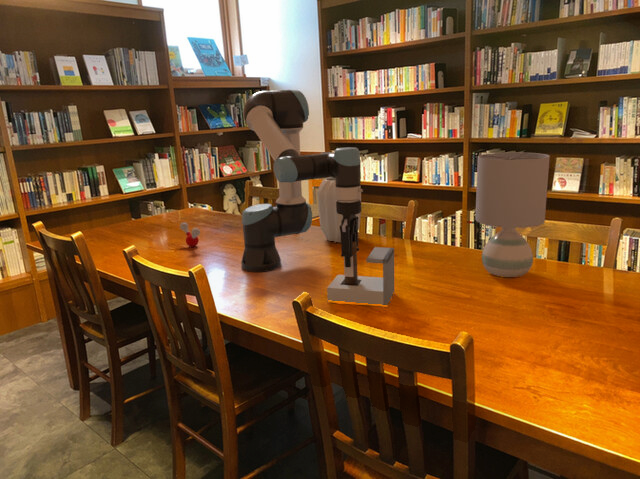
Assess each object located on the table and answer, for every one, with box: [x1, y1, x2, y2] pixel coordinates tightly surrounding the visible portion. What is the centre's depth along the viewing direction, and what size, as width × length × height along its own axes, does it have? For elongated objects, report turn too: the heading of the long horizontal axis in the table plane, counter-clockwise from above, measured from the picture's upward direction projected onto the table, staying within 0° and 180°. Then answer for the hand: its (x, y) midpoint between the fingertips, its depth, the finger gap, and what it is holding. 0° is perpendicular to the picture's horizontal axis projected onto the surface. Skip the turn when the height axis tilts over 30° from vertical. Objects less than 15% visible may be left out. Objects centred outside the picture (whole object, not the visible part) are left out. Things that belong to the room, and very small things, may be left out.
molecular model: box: [179, 222, 201, 248], centre depth 222 cm, size 18×6×10 cm, turn 41°
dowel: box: [345, 241, 359, 286], centre depth 154 cm, size 4×4×15 cm
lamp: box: [474, 152, 551, 278], centre depth 166 cm, size 22×22×40 cm
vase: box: [316, 177, 362, 243], centre depth 221 cm, size 20×20×27 cm
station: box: [326, 246, 395, 305], centre depth 154 cm, size 19×12×15 cm, turn 72°
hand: (350, 273), depth 155 cm, fingers closed on dowel, 4 cm apart
